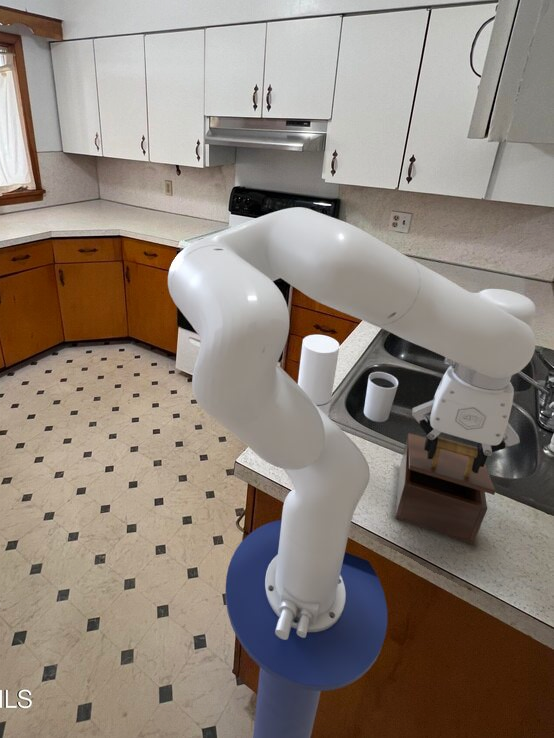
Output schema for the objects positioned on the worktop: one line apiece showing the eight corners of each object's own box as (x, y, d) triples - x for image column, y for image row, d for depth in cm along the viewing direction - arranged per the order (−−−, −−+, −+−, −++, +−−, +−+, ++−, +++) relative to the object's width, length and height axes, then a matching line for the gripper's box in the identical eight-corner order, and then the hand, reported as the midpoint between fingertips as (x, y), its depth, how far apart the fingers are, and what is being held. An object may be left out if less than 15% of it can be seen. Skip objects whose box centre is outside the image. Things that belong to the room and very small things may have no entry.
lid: (494, 495, 67) (504, 460, 66) (409, 469, 71) (416, 436, 70) (479, 456, 79) (487, 426, 78) (407, 436, 83) (414, 407, 82)
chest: (472, 545, 72) (487, 509, 69) (395, 518, 77) (404, 483, 73) (467, 490, 83) (479, 456, 79) (399, 469, 87) (407, 436, 84)
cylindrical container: (321, 456, 90) (337, 355, 79) (288, 447, 92) (299, 348, 81) (325, 434, 96) (341, 338, 86) (294, 426, 98) (305, 332, 88)
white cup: (393, 411, 104) (401, 377, 100) (386, 427, 99) (394, 392, 95) (366, 401, 107) (373, 368, 103) (358, 416, 102) (364, 382, 98)
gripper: (419, 368, 64) (395, 458, 71) (556, 400, 58) (514, 495, 65) (420, 345, 70) (398, 430, 77) (544, 372, 64) (507, 461, 71)
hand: (451, 459), depth 71 cm, fingers closed on lid, 6 cm apart
